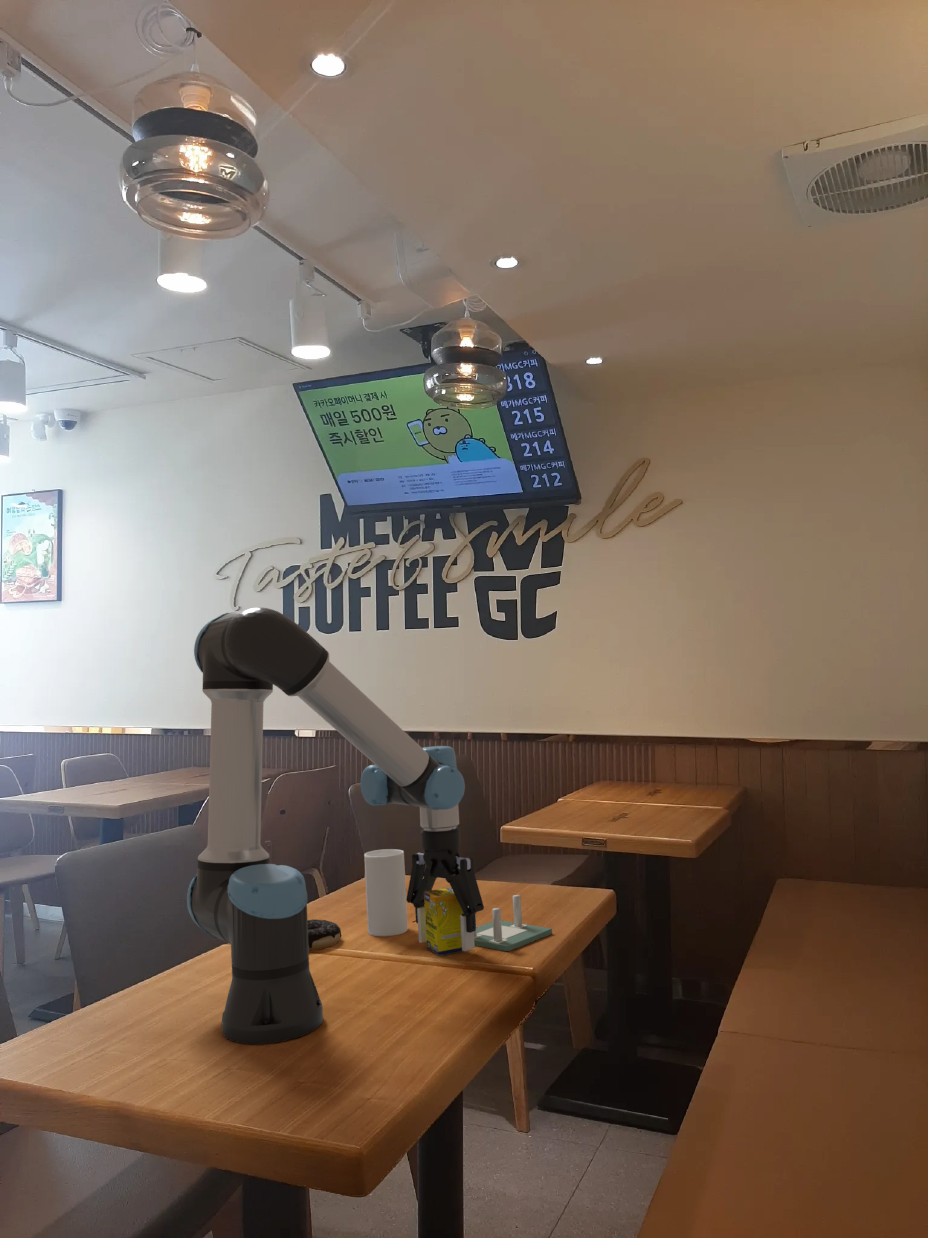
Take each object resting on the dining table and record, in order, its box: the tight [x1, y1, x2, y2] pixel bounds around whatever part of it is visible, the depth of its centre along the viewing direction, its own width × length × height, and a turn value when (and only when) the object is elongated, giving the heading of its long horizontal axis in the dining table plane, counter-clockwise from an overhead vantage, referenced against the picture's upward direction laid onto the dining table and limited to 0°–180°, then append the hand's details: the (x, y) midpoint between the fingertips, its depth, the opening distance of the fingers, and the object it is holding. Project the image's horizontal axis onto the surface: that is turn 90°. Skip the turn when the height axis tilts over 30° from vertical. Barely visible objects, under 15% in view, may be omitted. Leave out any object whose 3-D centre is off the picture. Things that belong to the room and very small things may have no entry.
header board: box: [468, 894, 553, 952], centre depth 189 cm, size 14×14×7 cm
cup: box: [363, 848, 409, 937], centre depth 199 cm, size 8×8×16 cm
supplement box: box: [424, 886, 463, 957], centre depth 183 cm, size 6×6×11 cm
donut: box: [307, 919, 343, 951], centre depth 193 cm, size 11×12×4 cm
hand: (446, 945), depth 183 cm, fingers open, 10 cm apart
